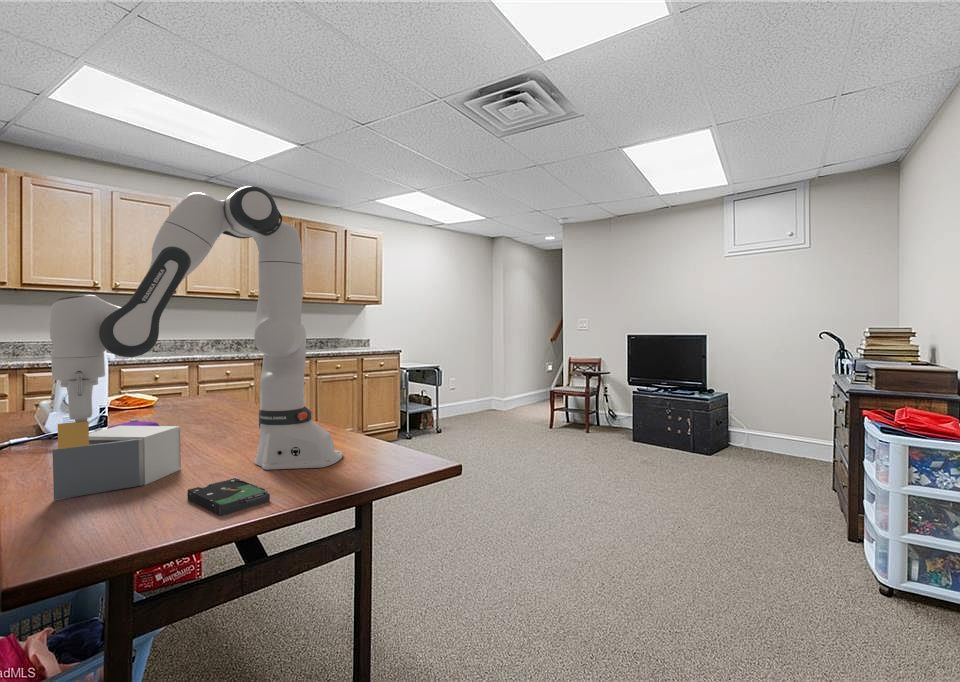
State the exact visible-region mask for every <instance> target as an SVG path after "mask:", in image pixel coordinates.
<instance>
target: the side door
mask: <svg viewBox="0 0 960 682" xmlns="http://www.w3.org/2000/svg"><path fill="white" fill-rule="evenodd" d="M89 422H90V421H89V420H87V421H83V422H75V421H73V422H64V423H63V422H62V423H61V422H60V423H57V448H52V451H51V452H52V475H53V476H52V479H53V480H52V482H53V484H52V485H53V500H54V501H56V500H62V499H69V498H74V497H75V498H76V497H81V496H86V495H93V494H99V493H104V492H110V491H117V490H123V489H128V488H134V487H140V486H145V485H144V476H143V439H134V440H126V441H118V442H109V443H101V444H92V445H89V433H90V431H89V430H90V428H89V427H90V426H89V424H90V423H89Z"/></svg>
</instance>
